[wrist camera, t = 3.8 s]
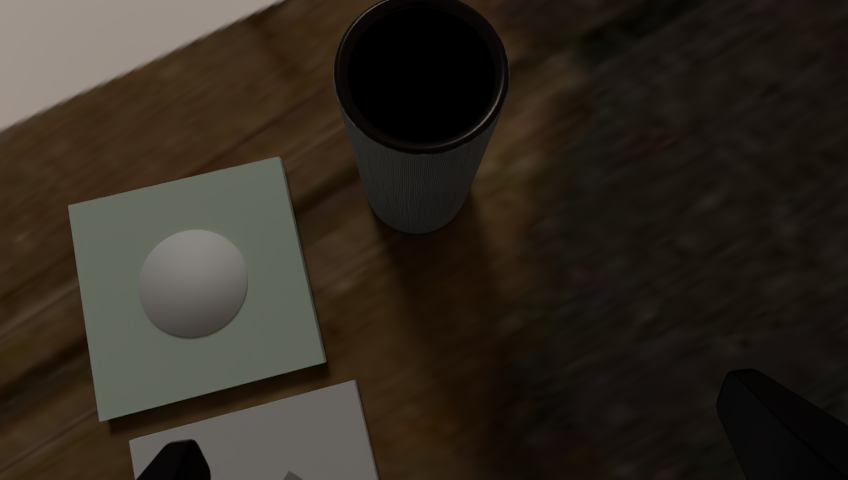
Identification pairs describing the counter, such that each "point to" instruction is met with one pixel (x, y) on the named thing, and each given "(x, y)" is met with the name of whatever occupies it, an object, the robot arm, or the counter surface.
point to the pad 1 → (193, 287)
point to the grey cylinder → (419, 105)
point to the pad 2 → (279, 439)
